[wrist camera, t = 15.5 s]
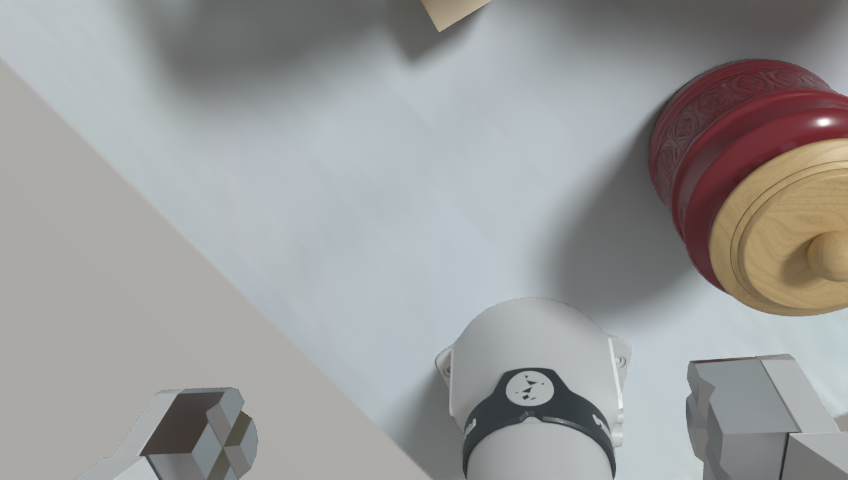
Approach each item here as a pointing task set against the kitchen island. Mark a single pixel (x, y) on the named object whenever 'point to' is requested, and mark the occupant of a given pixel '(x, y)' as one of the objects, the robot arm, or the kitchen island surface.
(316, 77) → the kitchen island surface
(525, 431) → the robot arm
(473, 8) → the beech block
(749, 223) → the canister
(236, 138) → the kitchen island surface
